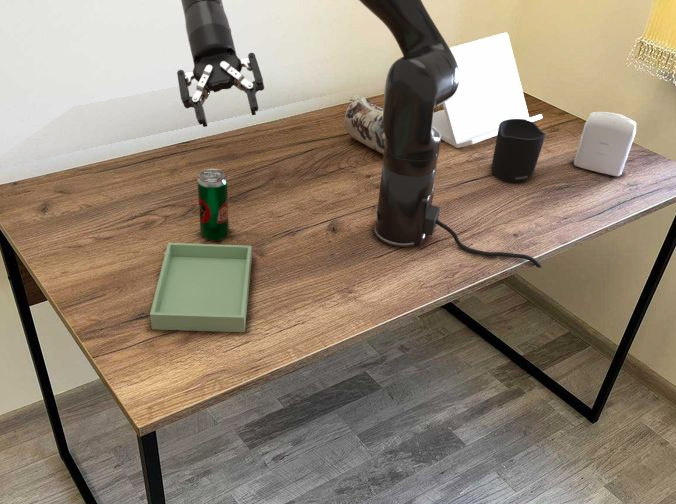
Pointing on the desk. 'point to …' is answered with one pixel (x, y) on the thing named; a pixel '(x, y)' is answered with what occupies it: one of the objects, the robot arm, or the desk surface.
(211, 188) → the soda can
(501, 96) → the tablet stand
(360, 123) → the pencil case
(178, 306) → the tray
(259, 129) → the desk surface
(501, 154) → the pen holder
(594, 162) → the photo printer
